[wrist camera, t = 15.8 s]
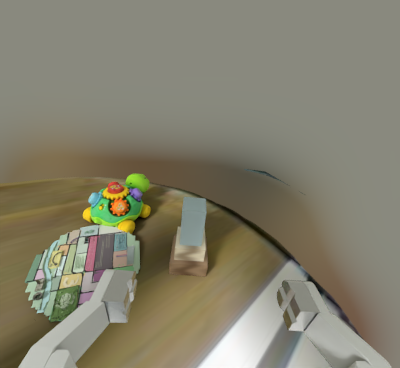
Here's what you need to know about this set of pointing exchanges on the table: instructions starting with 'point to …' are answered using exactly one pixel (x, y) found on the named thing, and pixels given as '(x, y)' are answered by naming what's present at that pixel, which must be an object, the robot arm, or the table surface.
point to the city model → (78, 268)
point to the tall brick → (193, 221)
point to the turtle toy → (119, 204)
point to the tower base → (187, 264)
